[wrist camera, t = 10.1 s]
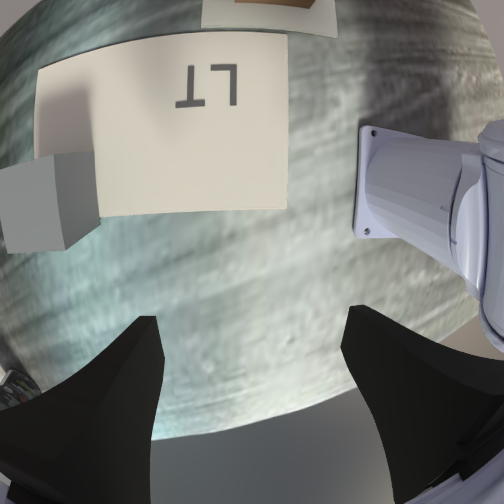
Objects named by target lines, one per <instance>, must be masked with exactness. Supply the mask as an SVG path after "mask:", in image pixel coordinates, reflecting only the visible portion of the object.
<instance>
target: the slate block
mask: <svg viewBox="0 0 504 504" xmlns="http://www.w3.org/2000/svg"><path fill="white" fill-rule="evenodd" d="M0 218H1V224H2V229H3V234H4V239H5V244H6V248H7V252H8V254H9V253H27V252H46V251H65V250H67V249H68V248H69V247H71V246H72V245H73V244H75V243H76V242H77V241H79V240H80V239H81V238H83V237H84V236H85V235H87V234H88V233H90V232H91V231H92V230H94V229H95V228H97V227H98V226H99V225H101V223H100V215H99V207H98V198H97V187H96V174H95V155H94V151H88V152H74V153H63V154H53V155H49V156H45V157H42V158H38V159H34V160H31V161H27V162H24V163H20V164H17V165H14V166H11V167H7V168H4V169H1V170H0Z"/></svg>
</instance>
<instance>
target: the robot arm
mask: <svg viewBox="0 0 504 504" xmlns="http://www.w3.org/2000/svg"><path fill="white" fill-rule="evenodd" d="M372 130H373V131H374V133H375V135H374V137H373V136H372V135H371V131H372ZM478 141H479V143H472V142H462V141H451V140H438V139H428V138H424V137H420V136H416V135H412V134H408V133H404V132H399V131H394V130H390V129H385V128H380V127H374V126H369V125H365V126H362V127H361V128H360V131H359V164H358V182H357V196H356V208H355V218H354V228H353V233H354V235H355V236H356V237H358V238H402V239H403V240H405V241H407V242H408V243H410V244H412V245H413V246H415V247H417V248H418V249H420V250H422V251H423V252H425V253H426V254H428V255H430V256H431V257H433V258H434V259H436V260H438V261H439V262H441V263H442V264H444V265H445V266H447V267H448V268H450V269H451V270H453V271H454V272H456V273H457V274H459V275H460V276H462V277H463V278H464V279H465V282H466V291H467V292H468V293H469V294H471V295H472V296H473V297H474V298H476V299H477V300H478V301H480V304H479V320H480V324H481V327H482V329H483V331H484V334H485V335H486V337H487V338H488V340H489V341H490V342H491V343H492V344H493V345H494V346H495V347H496V348H498V349H499V350H500V351H502V352H503V353H504V120H497V121H492V122H489V123H488V124H487V125H486V127H485V128H484V130H483V131H482V132H481V133H480V134H479V135H478ZM366 228H368V231H367V233H365V234H364V231H365V229H366ZM340 347H341V350H342V353H343V356H344V359H345V362H346V364H347V367H348V369H349V371H350V373H351V375H352V377H353V379H354V381H355V383H356V384H357V386H358V388H359V390H360V392H361V394H362V396H363V397H364V399H365V401H366V403H367V405H368V407H369V409H370V411H371V413H372V415H373V418H374V420H375V423H376V426H377V429H378V431H379V434H380V437H381V440H382V444H383V447H384V450H385V454H386V458H387V462H388V466H389V470H390V476H391V482H392V488H393V497H394V502H395V504H504V361H502V360H495V359H489V358H483V357H479V356H474V355H471V354H467V353H464V352H460V351H457V350H454V349H451V348H449V347H446V346H444V345H441V344H439V343H436V342H434V341H432V340H430V339H428V338H426V337H423V336H421V335H419V334H417V333H415V332H414V331H412V330H410V329H408V328H406V327H404V326H402V325H401V324H399V323H397V322H395V321H393V320H392V319H390V318H388V317H386V316H385V315H383V314H381V313H379V312H377V311H376V310H374V309H372V308H370V307H368V306H365V305H356V306H350V308H349V312H348V317H347V321H346V326H345V330H344V334H343V338H342V343H341V346H340ZM164 363H165V357H164V352H163V348H162V344H161V339H160V334H159V330H158V325H157V320H156V316H139V317H138V318H137V319H136V320H135V321H134V322H133V323H132V324H131V325H130V326H129V327H128V328H127V329H126V330H124V331H123V332H122V333H121V334H120V335H119V336H118V337H117V338H116V339H115V340H114V341H113V342H112V343H111V344H110V345H109V346H108V347H107V348H106V349H104V350H103V351H102V352H101V353H100V354H99V355H97V356H96V357H95V358H94V359H93V360H92V361H91V362H89V363H88V364H87V365H86V366H84V367H83V368H82V369H80V370H79V371H78V372H76V373H75V374H74V375H72V376H71V377H69V378H68V379H66V380H65V381H63V382H62V383H60V384H58V385H56V386H55V387H53V388H51V389H50V390H48V391H46V392H44V393H43V394H41V395H39V396H37V397H34V398H32V399H30V400H28V401H26V402H23V403H21V404H18V405H16V406H13V407H10V408H7V409H4V410H1V411H0V472H1V473H2V474H3V475H5V476H6V477H7V478H8V479H10V480H11V484H10V487H9V486H8V485H6V484H5V483H3V482H2V481H0V504H151V501H150V448H151V437H152V430H153V425H154V420H155V415H156V410H157V405H158V401H159V396H160V392H161V387H162V382H163V374H164Z"/></svg>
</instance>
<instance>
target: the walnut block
mask: <svg viewBox="0 0 504 504" xmlns="http://www.w3.org/2000/svg"><path fill="white" fill-rule="evenodd" d="M315 1H316V0H235V3H258V4H272V5H283V6H291V7H299V8H306V9H310V8H311V6H312V5H313V3H314V2H315Z"/></svg>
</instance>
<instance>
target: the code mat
mask: <svg viewBox="0 0 504 504" xmlns="http://www.w3.org/2000/svg"><path fill="white" fill-rule="evenodd" d="M88 151H94V155H95V174H96V187H97V198H98V207H99V215H100V217H111V216H124V215H138V214H154V213H171V212H192V211H218V210H258V209H287V180H288V42H287V35H286V34H275V33H262V32H199V33H185V34H175V35H167V36H159V37H152V38H146V39H141V40H135V41H130V42H125V43H121V44H116V45H112V46H108V47H104V48H100V49H97V50H93V51H90V52H86V53H83V54H80V55H77V56H74V57H71V58H68V59H65V60H63V61H60V62H57V63H55V64H52V65H49V66H47V67H45V68H42V69H40V70H39V71H38V79H37V88H36V98H35V114H34V159H38V158H42V157H45V156H49V155H53V154H63V153H74V152H88Z"/></svg>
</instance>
